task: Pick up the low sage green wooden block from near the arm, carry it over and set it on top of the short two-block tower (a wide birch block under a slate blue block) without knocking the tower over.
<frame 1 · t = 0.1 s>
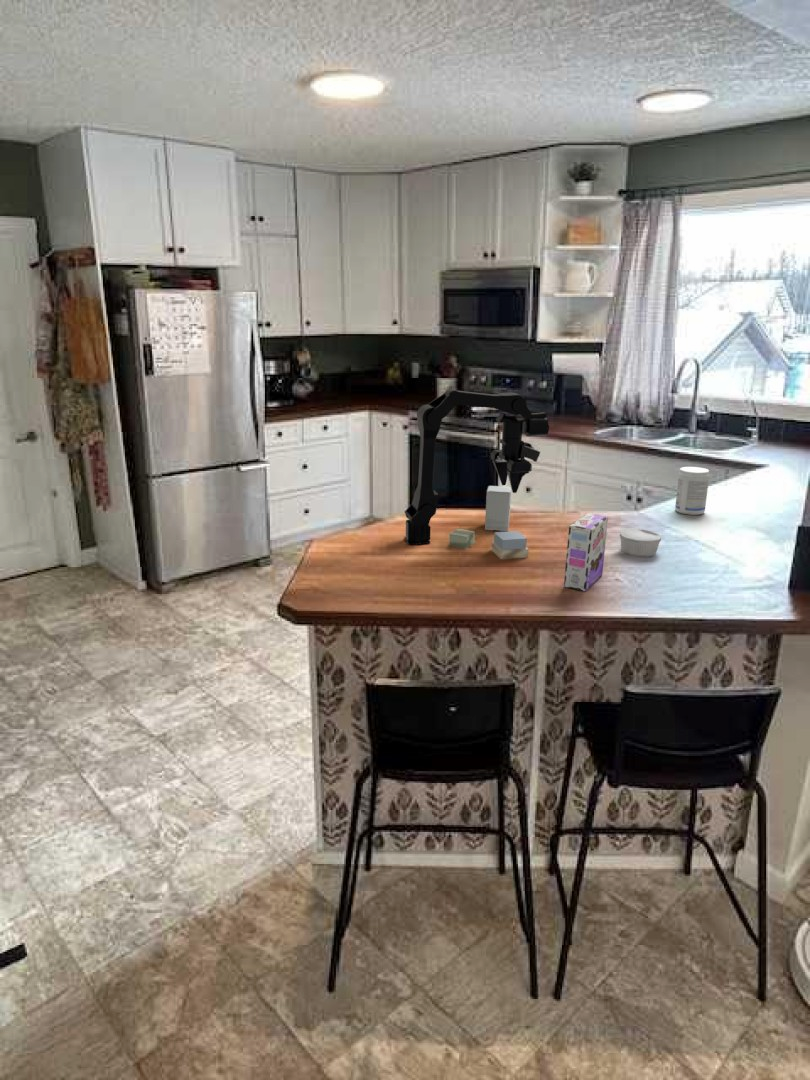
hand: (509, 488, 220), 15 cm above the countertop, tool pointing down, fingers open, 9 cm apart
green block: (461, 545, 216), on the countertop
candy box: (583, 582, 189), on the countertop
supplement box: (497, 528, 232), on the countertop
supplement tub: (689, 512, 251), on the countertop
ramekin: (638, 552, 212), on the countertop
slate blue top block: (509, 545, 208), point 2 cm above the countertop
birch base block: (509, 555, 209), on the countertop
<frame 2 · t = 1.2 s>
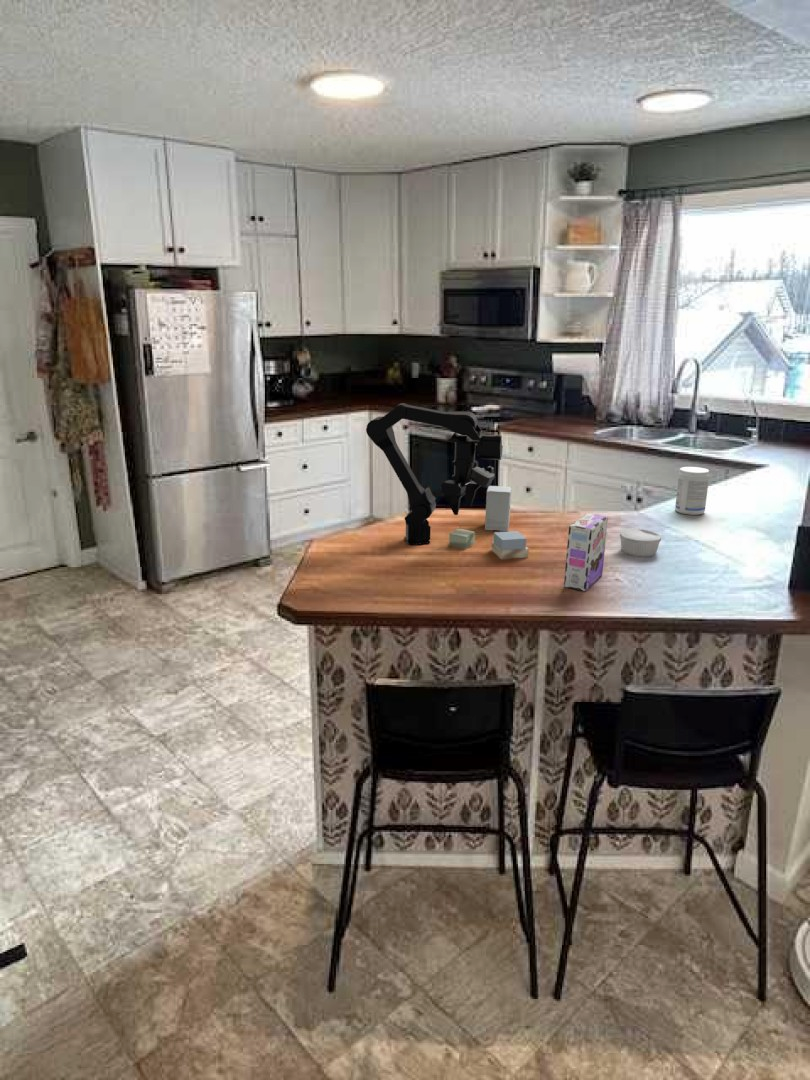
hand: (462, 510, 212), 10 cm above the countertop, tool pointing down, fingers open, 9 cm apart
slate blue top block: (509, 545, 208), point 2 cm above the countertop, touching birch base block
birch base block: (509, 555, 209), on the countertop, touching slate blue top block
everything else where it was.
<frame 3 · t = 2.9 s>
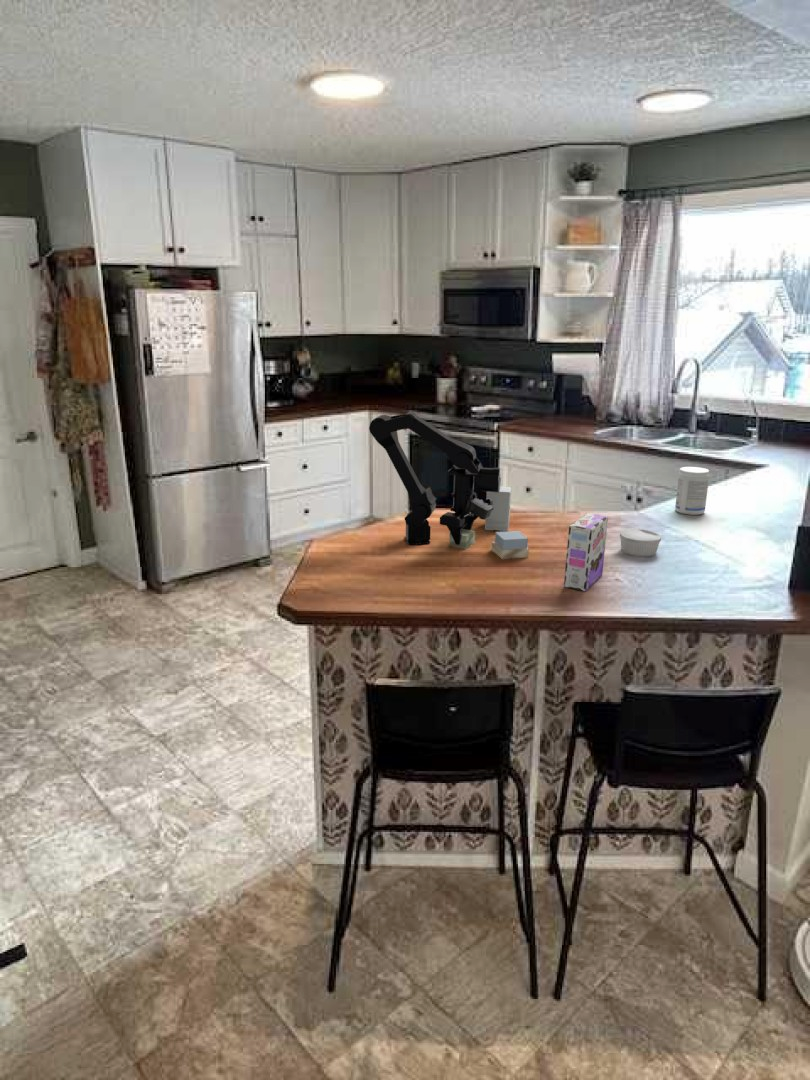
hand: (461, 541, 215), 1 cm above the countertop, tool pointing down, fingers closed on green block, 6 cm apart
green block: (461, 545, 216), on the countertop, touching gripper
everything else where it was.
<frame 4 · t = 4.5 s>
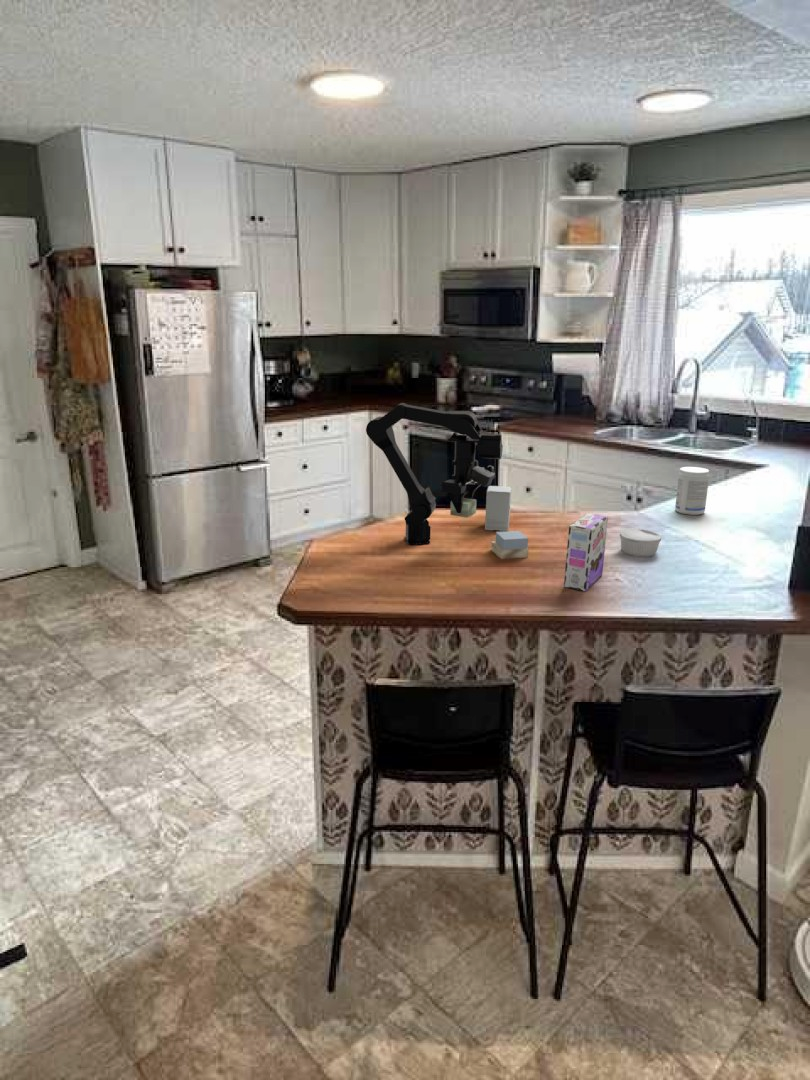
hand: (463, 510, 212), 11 cm above the countertop, tool pointing down, fingers closed on green block, 5 cm apart
green block: (463, 514, 213), point 9 cm above the countertop, touching gripper
everything else where it was.
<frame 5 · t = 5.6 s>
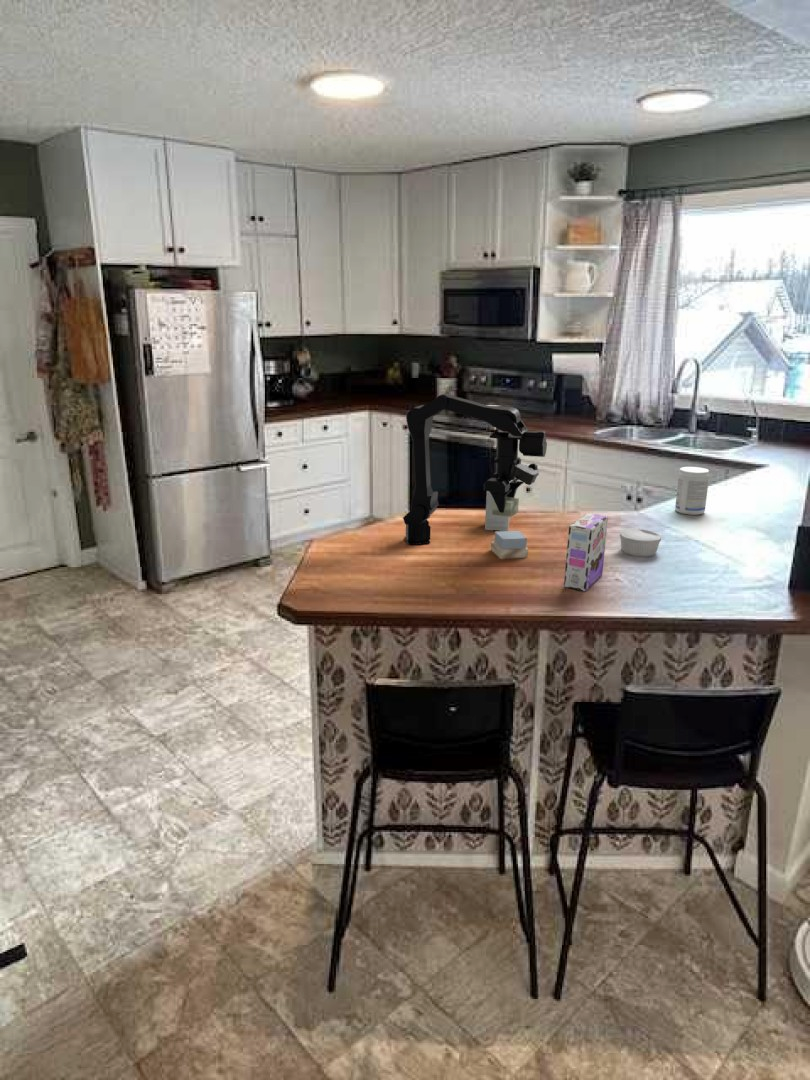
hand: (505, 509, 206), 13 cm above the countertop, tool pointing down, fingers closed on green block, 5 cm apart
green block: (505, 513, 206), point 12 cm above the countertop, touching gripper
everything else where it was.
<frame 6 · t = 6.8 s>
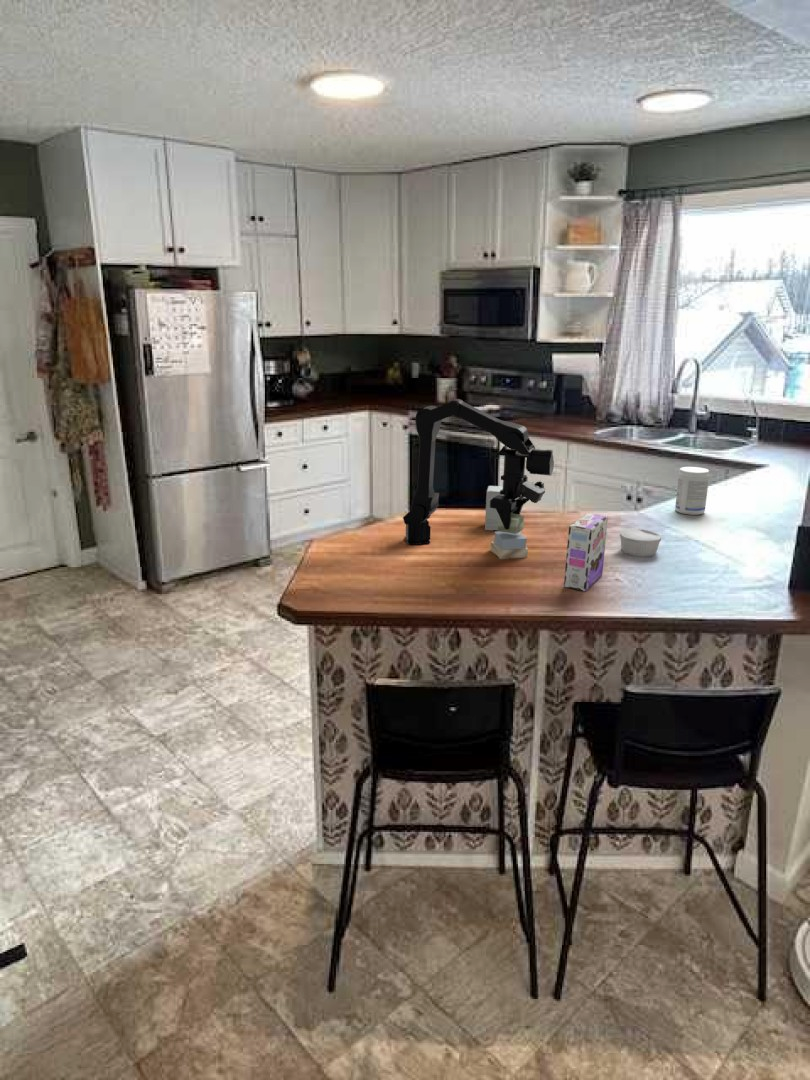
hand: (510, 526, 206), 8 cm above the countertop, tool pointing down, fingers closed on green block, 5 cm apart
green block: (510, 529, 207), point 7 cm above the countertop, touching gripper
everything else where it was.
when the fingers open (8 cm above the countertop, at t = 7.5 s): green block drops 1 cm, resting on slate blue top block.
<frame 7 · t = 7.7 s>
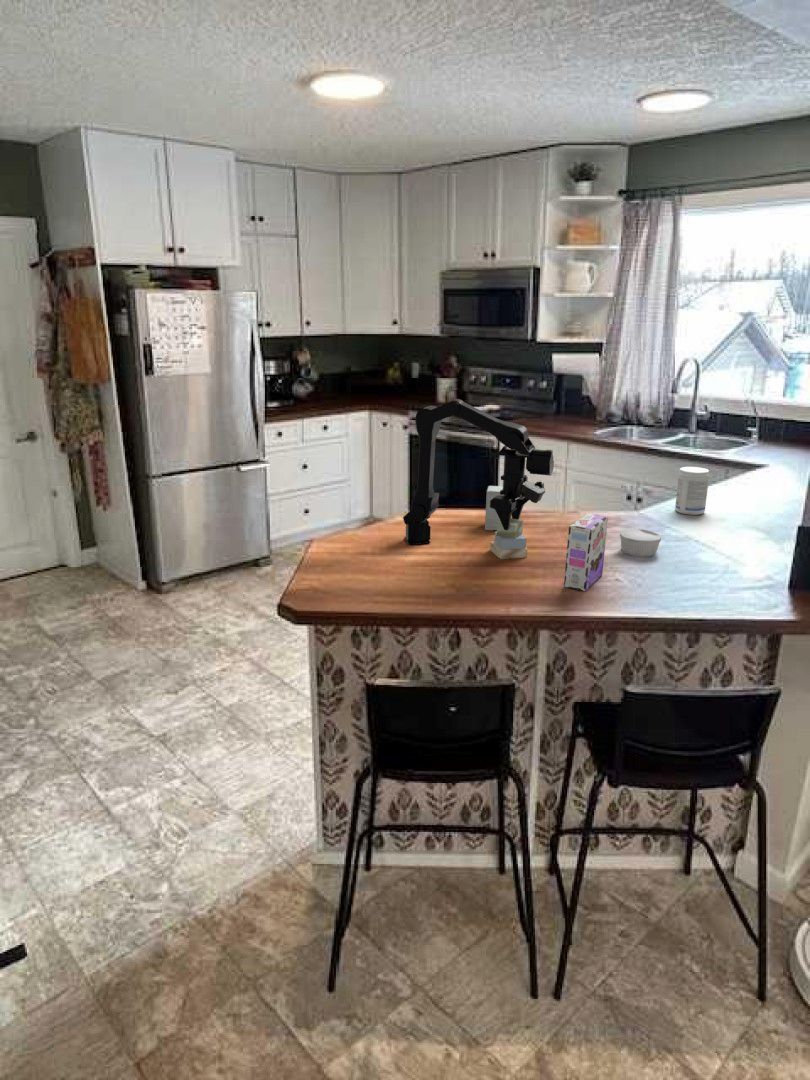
hand: (510, 526, 206), 8 cm above the countertop, tool pointing down, fingers open, 7 cm apart
green block: (509, 534, 207), point 6 cm above the countertop, touching slate blue top block
slate blue top block: (510, 545, 208), point 3 cm above the countertop, touching green block
birch base block: (508, 555, 209), on the countertop
everything else where it was.
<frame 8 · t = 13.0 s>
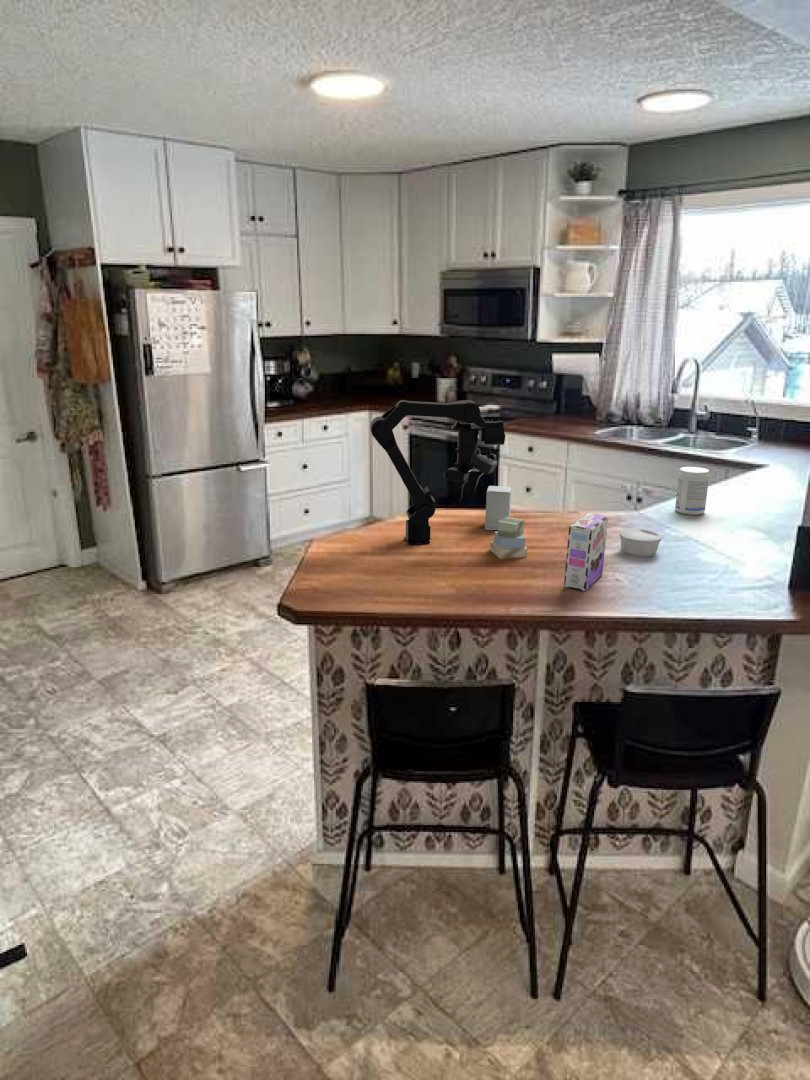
hand: (465, 498, 216), 13 cm above the countertop, tool pointing down, fingers open, 9 cm apart
green block: (510, 534, 208), point 6 cm above the countertop
slate blue top block: (509, 544, 208), point 3 cm above the countertop, touching birch base block
birch base block: (508, 554, 209), on the countertop, touching slate blue top block
everything else where it was.
at the end: green block 0.2 cm off-centre on the slate blue top block, point 3.0 cm above the slate blue top block's base; slate blue top block 0.3 cm off-centre on the birch base block, point 3.0 cm above the birch base block's base; the gripper is holding nothing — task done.
